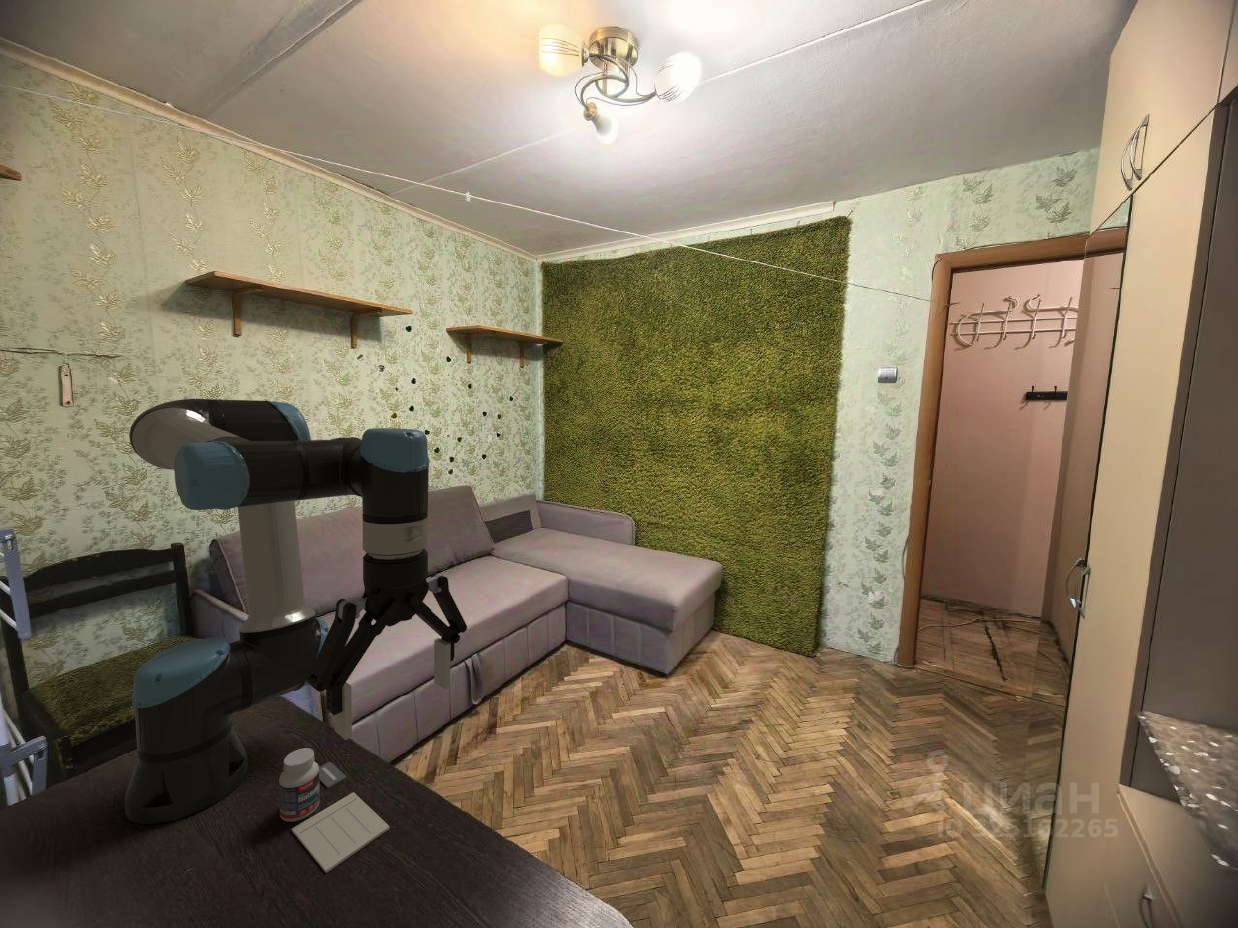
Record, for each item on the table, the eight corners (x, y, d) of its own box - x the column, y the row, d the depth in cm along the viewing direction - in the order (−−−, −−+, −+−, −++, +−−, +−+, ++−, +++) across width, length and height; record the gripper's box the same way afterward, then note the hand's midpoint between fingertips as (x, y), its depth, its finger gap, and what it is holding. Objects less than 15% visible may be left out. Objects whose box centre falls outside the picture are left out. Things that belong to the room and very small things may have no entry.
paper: (291, 831, 73) (291, 828, 72) (353, 794, 80) (353, 791, 80) (326, 872, 66) (325, 870, 66) (389, 828, 74) (389, 826, 73)
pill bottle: (300, 826, 74) (298, 771, 73) (271, 819, 75) (269, 765, 74) (327, 799, 79) (326, 748, 78) (300, 793, 80) (298, 742, 79)
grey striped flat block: (311, 772, 84) (311, 770, 84) (330, 762, 87) (330, 760, 87) (328, 788, 81) (327, 786, 81) (346, 778, 83) (346, 776, 83)
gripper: (299, 583, 49) (305, 776, 52) (493, 537, 69) (490, 677, 72) (269, 567, 53) (276, 745, 56) (460, 528, 74) (459, 660, 76)
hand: (396, 707), depth 64 cm, fingers open, 13 cm apart
